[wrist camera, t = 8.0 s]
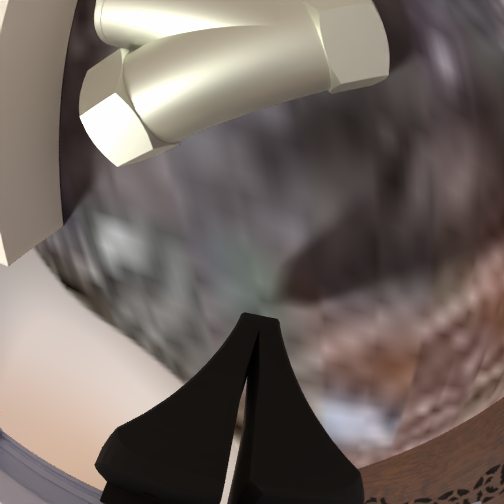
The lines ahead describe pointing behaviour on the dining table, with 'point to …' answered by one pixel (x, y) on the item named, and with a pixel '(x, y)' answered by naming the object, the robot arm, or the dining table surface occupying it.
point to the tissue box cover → (445, 467)
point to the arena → (30, 120)
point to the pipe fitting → (219, 64)
